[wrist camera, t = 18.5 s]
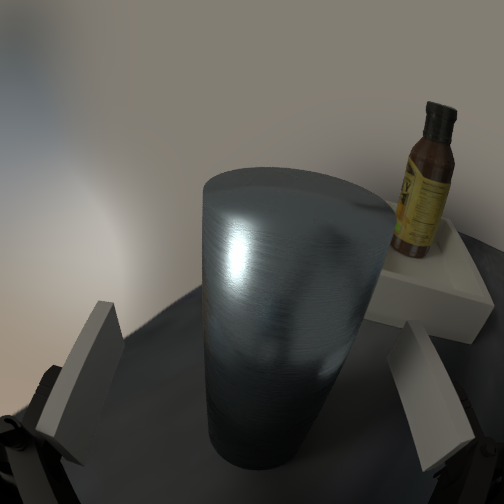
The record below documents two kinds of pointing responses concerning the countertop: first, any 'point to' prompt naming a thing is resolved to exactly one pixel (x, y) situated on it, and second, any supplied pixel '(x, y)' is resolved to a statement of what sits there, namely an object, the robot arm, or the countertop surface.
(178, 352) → the countertop surface
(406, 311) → the tray
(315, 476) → the countertop surface
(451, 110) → the sauce bottle
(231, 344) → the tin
